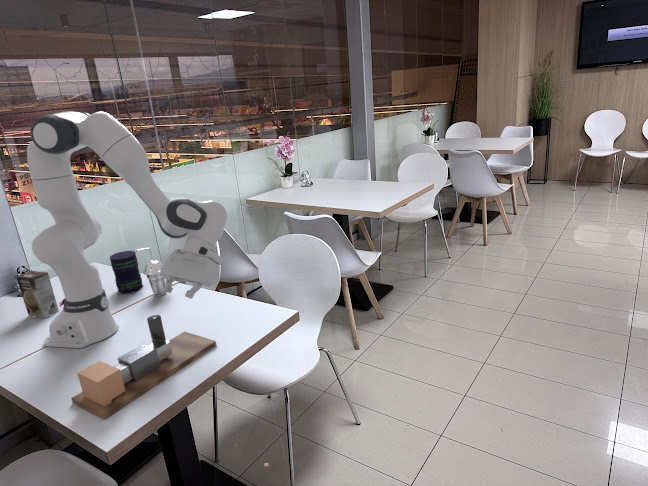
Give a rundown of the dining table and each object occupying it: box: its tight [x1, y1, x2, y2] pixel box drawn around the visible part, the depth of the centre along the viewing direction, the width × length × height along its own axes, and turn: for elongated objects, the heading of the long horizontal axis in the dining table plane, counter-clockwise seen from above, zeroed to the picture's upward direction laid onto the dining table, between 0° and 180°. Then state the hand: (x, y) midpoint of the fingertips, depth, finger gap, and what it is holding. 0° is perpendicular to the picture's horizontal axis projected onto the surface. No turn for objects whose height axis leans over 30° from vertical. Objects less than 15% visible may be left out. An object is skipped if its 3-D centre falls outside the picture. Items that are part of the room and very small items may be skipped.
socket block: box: [76, 360, 125, 407], centre depth 116 cm, size 6×9×7 cm, turn 57°
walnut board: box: [70, 331, 217, 421], centre depth 128 cm, size 37×14×2 cm, turn 147°
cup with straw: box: [135, 247, 167, 297], centre depth 178 cm, size 8×9×20 cm
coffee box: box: [15, 270, 60, 319], centre depth 170 cm, size 9×6×16 cm
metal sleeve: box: [117, 343, 161, 383], centre depth 125 cm, size 8×6×6 cm
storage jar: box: [109, 250, 144, 295], centre depth 187 cm, size 10×10×15 cm
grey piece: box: [112, 314, 173, 384], centre depth 123 cm, size 21×4×12 cm, turn 147°
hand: (177, 294), depth 133 cm, fingers open, 8 cm apart
